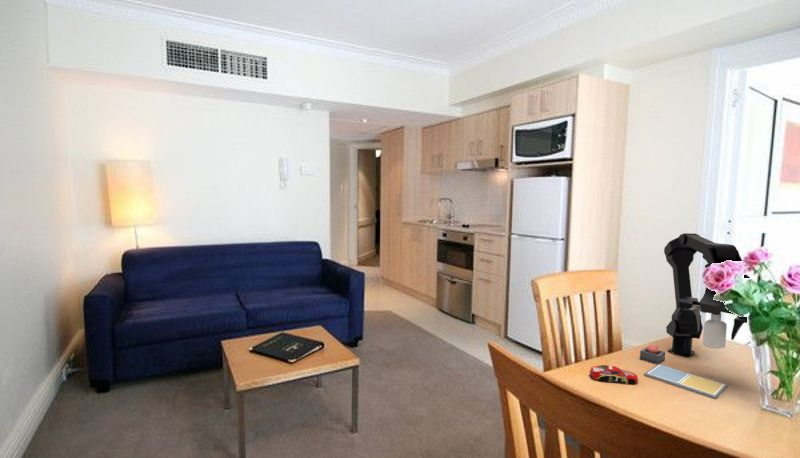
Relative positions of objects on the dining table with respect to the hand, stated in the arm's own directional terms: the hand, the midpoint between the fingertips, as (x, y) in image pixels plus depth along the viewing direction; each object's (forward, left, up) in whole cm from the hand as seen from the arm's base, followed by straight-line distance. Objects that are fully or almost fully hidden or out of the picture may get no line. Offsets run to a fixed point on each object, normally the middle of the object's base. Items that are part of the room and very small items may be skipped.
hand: (714, 335), depth 121 cm
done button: (+1, -16, -10) cm, 19 cm away
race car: (+26, -18, -14) cm, 34 cm away
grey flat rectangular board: (+10, -4, -13) cm, 17 cm away
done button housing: (+1, -16, -13) cm, 21 cm away
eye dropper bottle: (0, 0, -4) cm, 4 cm away
